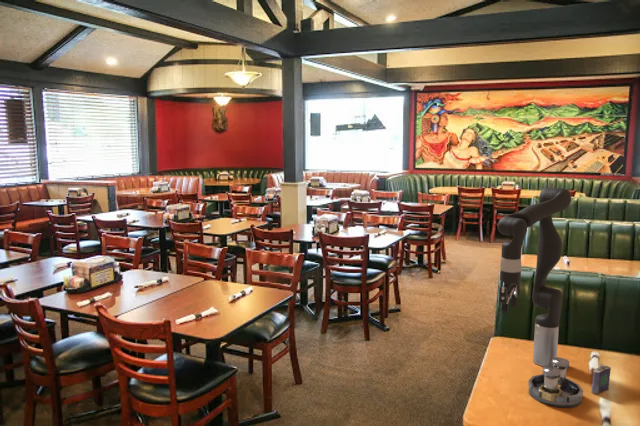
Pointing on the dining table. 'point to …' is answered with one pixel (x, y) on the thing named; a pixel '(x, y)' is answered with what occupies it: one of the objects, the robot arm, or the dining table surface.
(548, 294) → the robot arm
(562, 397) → the carrier
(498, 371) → the dining table surface
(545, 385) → the silver capped cylinder
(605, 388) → the flask
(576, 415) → the dining table surface
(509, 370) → the dining table surface
